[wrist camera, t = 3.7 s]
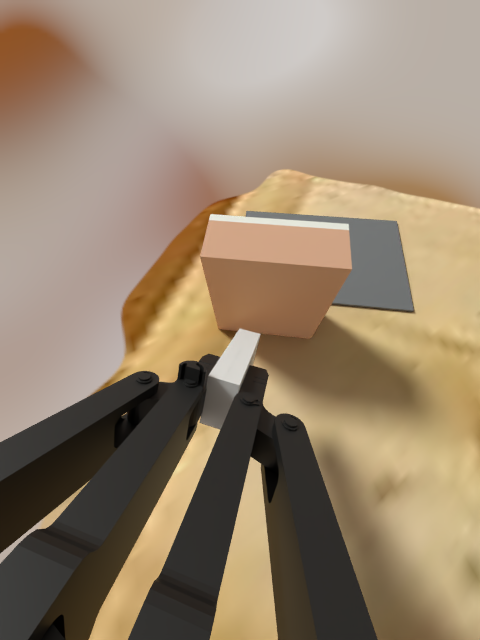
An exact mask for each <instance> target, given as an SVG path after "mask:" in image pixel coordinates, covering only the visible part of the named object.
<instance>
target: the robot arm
mask: <svg viewBox="0 0 480 640" xmlns="http://www.w3.org/2000/svg"><path fill="white" fill-rule="evenodd" d="M260 335H261V334H259V333H255V332H251V331H247V330H244V329H239V330H238V332H237V333H236V335H235V336H234V338H233V339H232V341H231V342H230V344H229V345H228V347H227V348H226V350H225V351H224V353H223V354H222V356H221V357H218V356H215V355H211V354H207V355H205V356H203V357H202V358H201V359H200V360H199V362H197V361H185V362H182V363H180V364H179V372H178V379H177V380H176V381H175V382H174V383H167V382H159V377H158V375H156V374H155V373H153V372H149V371H140V372H136V373H134V374H132V375H130V376H128V377H126V378H124V379H122V380H120V381H118V382H116V383H114V384H112V385H110V386H109V387H107V388H105V389H103V390H101V391H99V392H97V393H95V394H93V395H91V396H89V397H87V398H85V399H83V400H81V401H79V402H78V403H76V404H74V405H72V406H70V407H68V408H66V409H64V410H62V411H60V412H58V413H56V414H54V415H52V416H50V417H48V418H47V419H45V420H43V421H41V422H39V423H37V424H35V425H33V426H31V427H29V428H27V429H25V430H23V431H22V432H20V433H18V434H16V435H14V436H12V437H10V438H8V439H6V440H4V441H2V442H0V553H1V552H3V551H4V550H5V549H6V548H7V547H9V546H10V545H11V544H12V543H14V542H15V541H16V540H17V539H18V538H20V537H21V536H22V535H23V534H25V533H26V532H27V531H28V530H29V529H31V528H32V527H33V526H34V525H36V524H37V523H38V522H39V521H40V520H42V519H43V518H44V517H45V516H47V515H48V514H49V513H50V512H51V511H53V510H54V509H55V508H56V507H58V506H59V505H60V504H61V503H62V502H64V501H65V500H66V499H67V498H69V497H70V496H71V495H72V494H74V493H75V492H76V491H77V490H78V489H80V488H81V487H82V486H83V485H85V484H86V483H87V482H88V481H89V480H90V481H89V482H88V483H87V485H86V486H85V487H84V488H83V489H82V490H81V492H80V493H79V494H78V495H77V496H76V497H75V499H74V500H73V501H72V502H71V503H70V504H69V505H68V507H67V508H66V509H65V510H64V511H63V512H62V514H61V515H60V516H59V517H58V518H57V519H56V521H55V522H54V523H53V524H52V525H51V526H49V527H48V528H46V529H37V530H35V531H34V532H32V533H31V534H29V535H28V536H27V537H26V538H24V539H23V541H21V542H20V543H19V544H18V545H17V546H16V547H15V548H14V550H13V551H12V552H11V553H10V554H9V555H8V556H7V557H6V558H5V559H4V561H3V562H2V563H1V564H0V640H88V639H89V637H90V635H91V632H92V629H93V626H94V623H95V620H96V617H97V615H98V613H99V610H100V608H101V606H102V604H103V602H104V601H105V599H106V597H107V595H108V593H109V591H110V589H111V587H112V586H113V584H114V582H115V580H116V578H117V576H118V574H119V573H120V571H121V569H122V567H123V565H124V563H125V561H126V560H127V558H128V556H129V554H130V552H131V550H132V548H133V546H134V545H135V543H136V541H137V539H138V537H139V535H140V533H141V532H142V530H143V528H144V526H145V524H146V522H147V520H148V519H149V517H150V515H151V513H152V511H153V509H154V507H155V505H156V504H157V502H158V500H159V498H160V496H161V494H162V492H163V491H164V489H165V487H166V485H167V483H168V481H169V479H170V478H171V476H172V474H173V472H174V470H175V468H176V466H177V464H178V463H179V461H180V459H181V457H182V455H183V453H184V451H185V450H186V448H187V446H188V444H189V442H190V440H191V438H192V437H193V435H194V433H195V431H196V428H197V422H198V420H199V418H200V416H201V419H200V423H202V424H205V425H208V426H211V427H214V428H217V429H220V433H219V435H218V437H217V440H216V442H215V444H214V447H213V449H212V452H211V454H210V456H209V459H208V461H207V464H206V466H205V468H204V471H203V473H202V476H201V478H200V480H199V483H198V485H197V488H196V490H195V492H194V495H193V497H192V500H191V502H190V504H189V507H188V509H187V512H186V514H185V516H184V519H183V521H182V524H181V526H180V528H179V531H178V533H177V536H176V538H175V540H174V543H173V545H172V547H171V550H170V552H169V555H168V557H167V559H166V562H165V564H164V567H163V569H162V571H161V573H160V575H159V577H158V578H157V579H156V580H155V581H154V583H153V585H152V586H151V588H150V590H149V592H148V595H147V597H146V599H145V601H144V604H143V606H142V608H141V610H140V613H139V615H138V617H137V620H136V622H135V624H134V627H133V629H132V631H131V634H130V636H129V638H128V640H209V639H210V635H211V631H212V626H213V622H214V617H215V612H216V606H217V600H218V595H219V591H220V586H221V582H222V578H223V573H224V569H225V565H226V560H227V556H228V552H229V547H230V543H231V539H232V534H233V530H234V526H235V521H236V517H237V513H238V508H239V504H240V499H241V495H242V491H243V486H244V482H245V478H246V473H247V469H248V465H249V460H250V456H251V457H252V458H254V459H255V460H257V461H258V462H260V463H261V474H262V483H263V493H264V503H265V513H266V523H267V533H268V543H269V553H270V563H271V573H272V583H273V592H274V602H275V612H276V622H277V632H278V640H378V639H377V636H376V634H375V631H374V628H373V625H372V622H371V619H370V616H369V613H368V610H367V607H366V604H365V601H364V598H363V595H362V592H361V589H360V587H359V584H358V581H357V578H356V575H355V572H354V569H353V566H352V563H351V560H350V557H349V554H348V551H347V548H346V545H345V542H344V540H343V537H342V534H341V531H340V528H339V525H338V522H337V519H336V516H335V513H334V510H333V507H332V504H331V501H330V498H329V495H328V492H327V490H326V487H325V484H324V481H323V478H322V475H321V472H320V469H319V466H318V463H317V460H316V457H315V454H314V451H313V448H312V445H311V443H310V440H309V437H308V434H307V431H306V428H305V426H304V424H303V422H302V421H301V420H300V419H298V418H297V417H295V416H293V415H290V414H279V415H277V417H275V416H274V415H272V414H271V413H269V412H268V411H267V410H266V409H265V408H264V406H263V397H264V393H265V389H266V384H267V380H268V376H269V375H268V373H267V371H266V370H265V369H262V368H258V367H255V366H253V363H254V359H255V355H256V351H257V347H258V343H259V339H260ZM126 412H127V413H126ZM125 413H126V414H125ZM123 414H125V415H123ZM122 415H123V416H122Z"/></svg>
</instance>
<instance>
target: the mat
mask: <svg viewBox="0 0 480 640" xmlns="http://www.w3.org/2000/svg"><path fill="white" fill-rule="evenodd" d="M246 217H256V218H271V219H285V220H299V221H314V222H328V223H342V224H349V236H350V249H351V261H352V270H351V272H350V274H349V275H348V277H347V279H346V280H345V282H344V284H343V285H342V287H341V289H340V291H339V292H338V294H337V296H336V297H335V299H334V301H333V302H332V304H335V305H346V306H357V307H367V308H378V309H388V310H399V311H409V312H413V311H414V309H413V304H412V298H411V293H410V288H409V283H408V277H407V272H406V267H405V262H404V257H403V251H402V246H401V241H400V236H399V230H398V225H397V221H387V220H373V219H358V218H343V217H328V216H313V215H299V214H284V213H269V212H254V211H246Z"/></svg>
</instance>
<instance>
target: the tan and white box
mask: <svg viewBox="0 0 480 640" xmlns="http://www.w3.org/2000/svg"><path fill="white" fill-rule="evenodd" d="M200 258H201V262H202V266H203V270H204V274H205V278H206V282H207V286H208V290H209V294H210V297H211V301H212V305H213V309H214V313H215V317H216V321H217V325H218V329H223V330H232V331H238V330H239V329H244V330H247V331H251V332H255V333H261V334H270V335H279V336H289V337H298V338H308V339H311V338H312V336H313V335H314V333H315V331H316V329H317V328H318V326H319V324H320V323H321V321H322V319H323V318H324V316H325V314H326V313H327V311H328V309H329V307H330V306H331V304H332V302H333V301H334V299H335V297H336V296H337V294H338V292H339V291H340V289H341V287H342V285H343V284H344V282H345V280H346V279H347V277H348V275H349V274H350V272H351V270H352V261H351V249H350V236H349V224H342V223H328V222H314V221H299V220H285V219H271V218H256V217H242V216H228V215H213V214H211V215H210V219H209V223H208V227H207V231H206V235H205V239H204V243H203V247H202V251H201V255H200Z"/></svg>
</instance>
